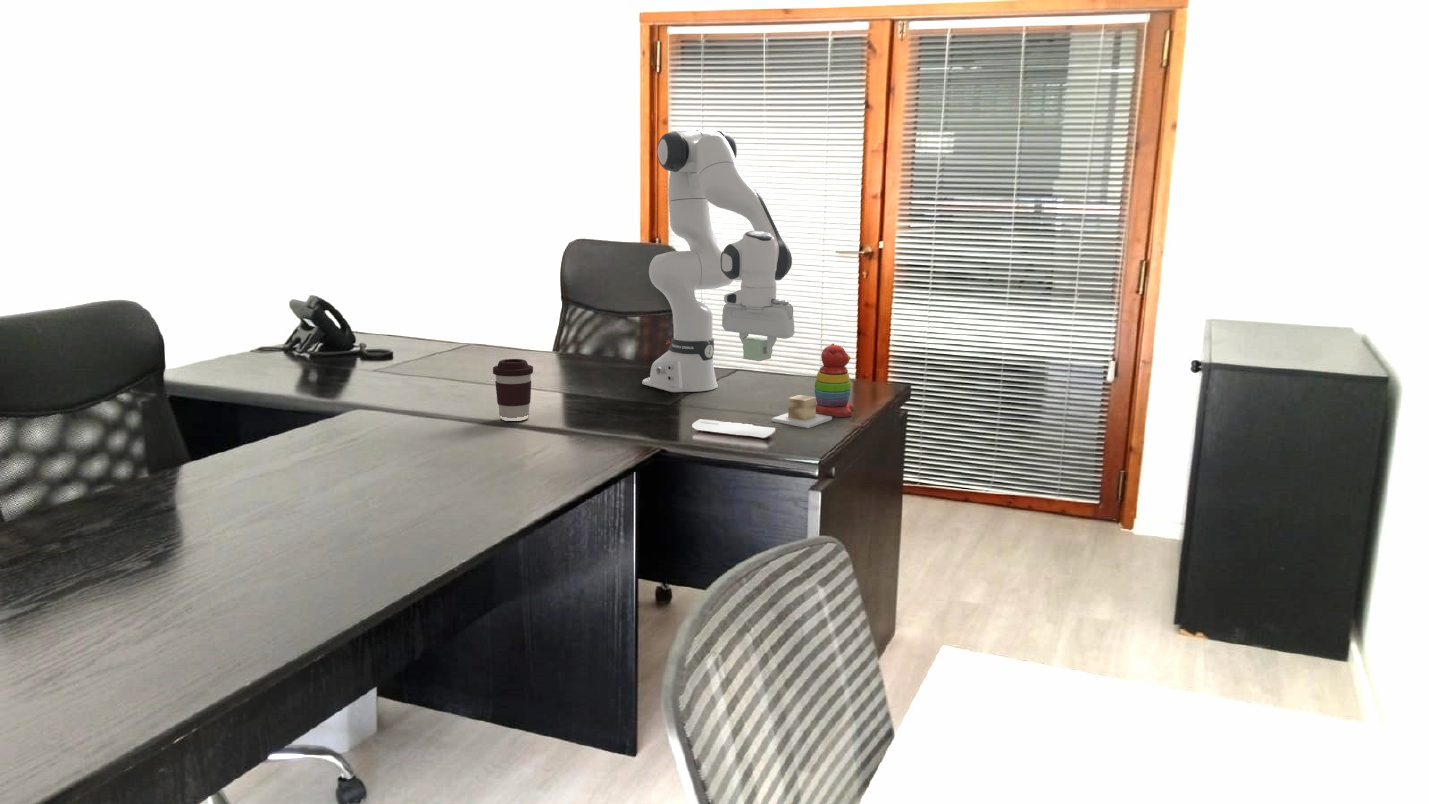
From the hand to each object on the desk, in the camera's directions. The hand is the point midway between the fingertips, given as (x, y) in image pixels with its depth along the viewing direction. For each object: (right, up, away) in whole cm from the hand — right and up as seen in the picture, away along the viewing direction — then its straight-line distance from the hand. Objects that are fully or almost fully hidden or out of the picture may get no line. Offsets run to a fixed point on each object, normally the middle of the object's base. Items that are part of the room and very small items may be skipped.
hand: (757, 352), depth 278 cm
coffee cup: (-61, -17, +2) cm, 64 cm away
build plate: (+11, -17, +2) cm, 21 cm away
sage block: (0, -2, 0) cm, 2 cm away
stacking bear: (+20, -15, +12) cm, 28 cm away
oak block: (+11, -16, +2) cm, 20 cm away
